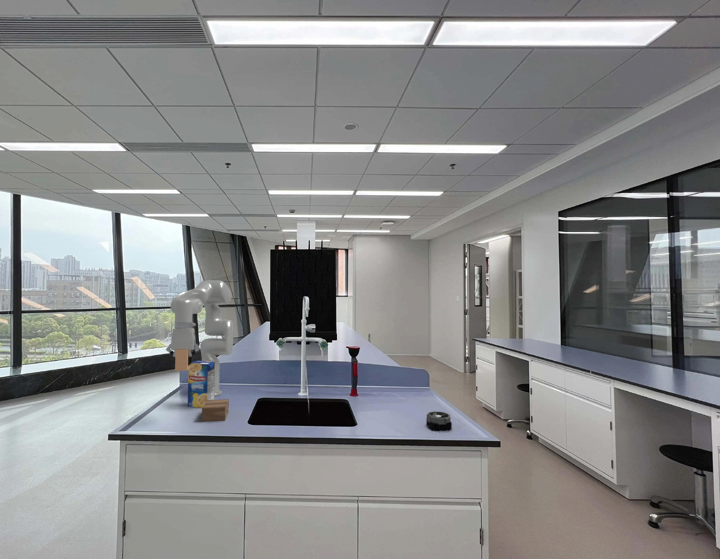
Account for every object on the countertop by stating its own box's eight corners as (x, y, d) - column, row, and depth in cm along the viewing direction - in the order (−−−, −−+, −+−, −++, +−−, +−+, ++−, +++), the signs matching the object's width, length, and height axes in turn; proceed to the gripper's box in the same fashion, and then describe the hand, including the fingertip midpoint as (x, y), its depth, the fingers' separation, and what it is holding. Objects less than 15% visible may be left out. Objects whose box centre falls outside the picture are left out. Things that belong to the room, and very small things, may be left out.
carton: (178, 367, 189) (179, 348, 189) (190, 367, 190) (190, 348, 190) (175, 370, 182) (175, 350, 182) (186, 370, 183) (187, 350, 183)
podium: (207, 412, 194) (207, 400, 194) (228, 411, 196) (228, 399, 196) (201, 421, 180) (202, 408, 180) (224, 420, 182) (225, 407, 182)
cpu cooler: (424, 411, 181) (446, 410, 182) (424, 423, 181) (446, 423, 182) (430, 418, 171) (453, 417, 172) (430, 432, 170) (453, 431, 172)
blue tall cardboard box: (207, 408, 201) (207, 364, 202) (187, 406, 203) (188, 363, 204) (214, 404, 208) (215, 361, 208) (195, 402, 210) (196, 360, 210)
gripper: (204, 324, 191) (203, 362, 191) (166, 325, 188) (165, 364, 188) (201, 326, 184) (200, 366, 184) (161, 326, 181) (160, 367, 180)
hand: (182, 364), depth 186 cm, fingers closed on carton, 5 cm apart
